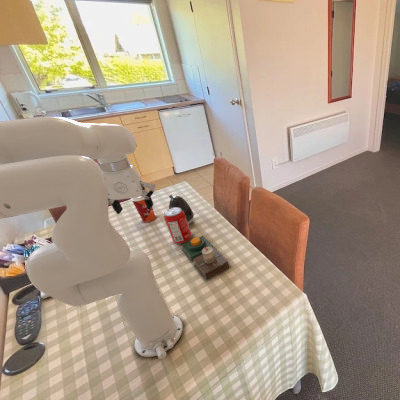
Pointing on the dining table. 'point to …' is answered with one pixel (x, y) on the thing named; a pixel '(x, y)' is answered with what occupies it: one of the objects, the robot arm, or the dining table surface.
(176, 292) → the dining table surface
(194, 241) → the power button
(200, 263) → the dimmer panel
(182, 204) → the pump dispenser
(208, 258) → the dimmer knob
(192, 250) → the switch box
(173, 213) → the soda can
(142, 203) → the paper cup
